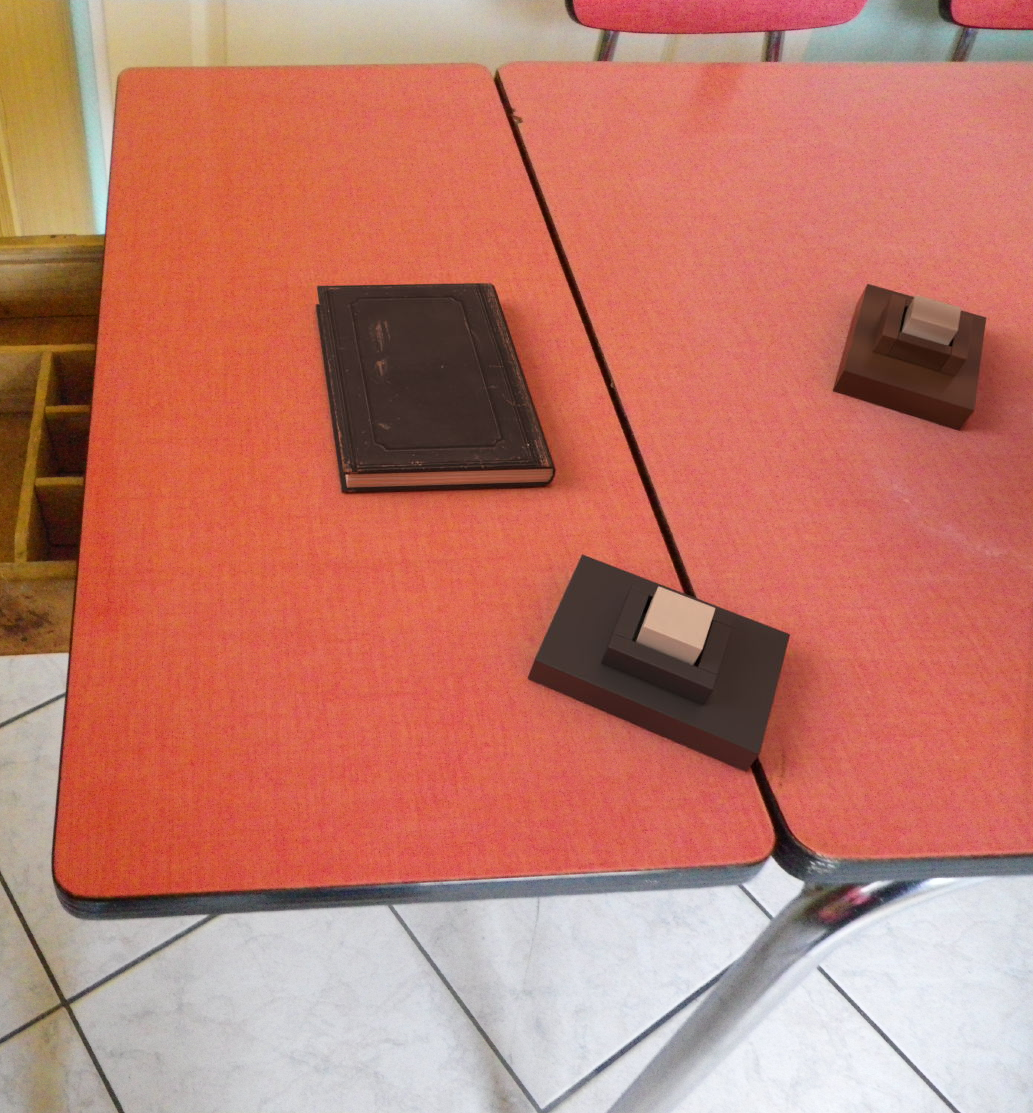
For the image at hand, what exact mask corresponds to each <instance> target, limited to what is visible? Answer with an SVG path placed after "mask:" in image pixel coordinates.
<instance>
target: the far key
mask: <svg viewBox="0 0 1033 1113" xmlns="http://www.w3.org/2000/svg"><path fill="white" fill-rule="evenodd" d="M913 297H914V299H913V300H912V302H911V304H910V305H909V307H908V309H907V311H906V314H905V318H904V323H903V327H902V332H903V333H906V334H910V335H913V336H916V337H920V338H923V339H927V340H930V341H933V342H937V343H940V344H944V345H947V346H948V345H949V344H950V342H951V340H952V339H953V337H954V336H955V334H956V333H957V331H958V326H959V320H960V313H961V310H962V307H961V306H958V305H954V304H952V303H951V304H950V303H947V302H943V301H939V300H936V299H932V298H930V297H925V296H922V295H920V294H915V295H914V296H913Z"/></svg>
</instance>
